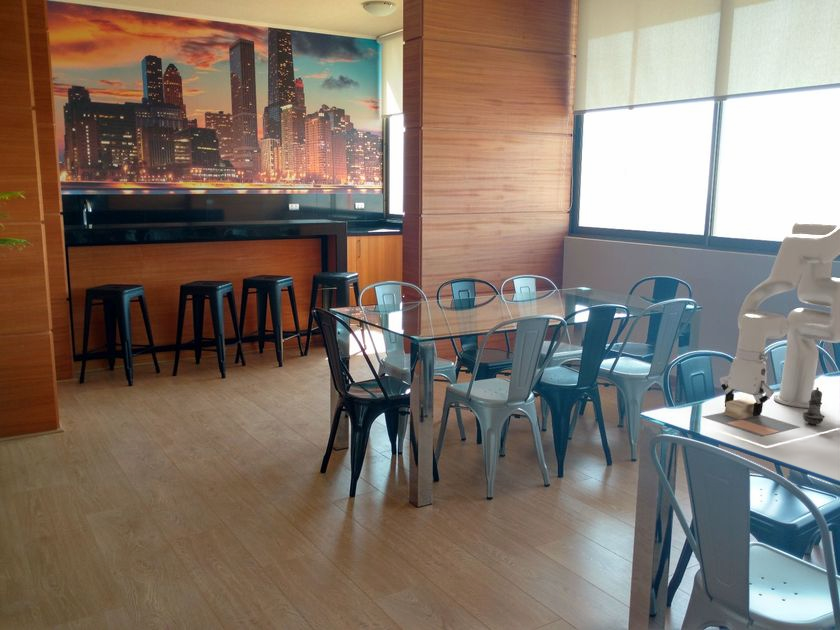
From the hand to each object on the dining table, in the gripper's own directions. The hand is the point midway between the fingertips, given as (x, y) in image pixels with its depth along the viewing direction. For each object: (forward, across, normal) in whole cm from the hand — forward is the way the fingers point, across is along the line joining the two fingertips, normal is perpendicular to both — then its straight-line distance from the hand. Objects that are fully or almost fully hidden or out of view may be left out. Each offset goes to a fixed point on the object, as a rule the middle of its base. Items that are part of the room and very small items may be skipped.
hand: (742, 410), depth 220 cm
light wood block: (+1, 0, 0) cm, 1 cm away
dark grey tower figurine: (+2, -15, -12) cm, 19 cm away
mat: (+2, -6, +4) cm, 7 cm away
